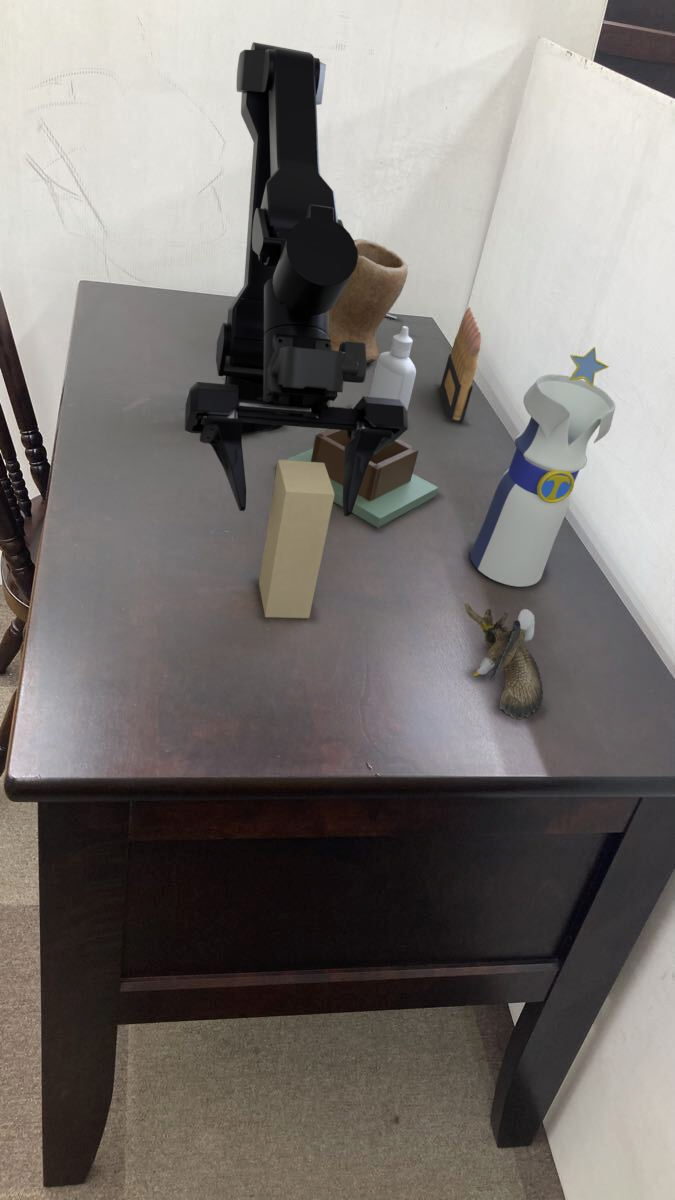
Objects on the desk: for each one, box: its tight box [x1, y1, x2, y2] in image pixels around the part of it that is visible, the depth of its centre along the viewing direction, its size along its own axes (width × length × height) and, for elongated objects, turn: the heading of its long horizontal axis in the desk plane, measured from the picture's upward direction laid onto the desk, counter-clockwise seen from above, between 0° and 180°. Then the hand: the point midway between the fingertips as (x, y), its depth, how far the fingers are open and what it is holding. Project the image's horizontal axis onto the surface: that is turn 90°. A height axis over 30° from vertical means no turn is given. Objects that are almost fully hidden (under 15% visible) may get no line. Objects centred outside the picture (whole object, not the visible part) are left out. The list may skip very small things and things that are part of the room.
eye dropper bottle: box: [368, 325, 417, 411], centre depth 111 cm, size 4×6×12 cm
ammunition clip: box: [439, 306, 482, 424], centre depth 118 cm, size 11×2×12 cm, turn 1°
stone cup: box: [329, 238, 409, 363], centre depth 127 cm, size 15×12×15 cm
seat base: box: [284, 429, 439, 529], centre depth 98 cm, size 14×11×5 cm
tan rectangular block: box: [258, 459, 335, 619], centre depth 77 cm, size 5×4×13 cm
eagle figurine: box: [464, 602, 544, 720], centre depth 76 cm, size 8×7×9 cm
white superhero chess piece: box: [469, 346, 616, 588], centre depth 85 cm, size 8×8×25 cm
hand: (295, 512), depth 76 cm, fingers open, 9 cm apart
